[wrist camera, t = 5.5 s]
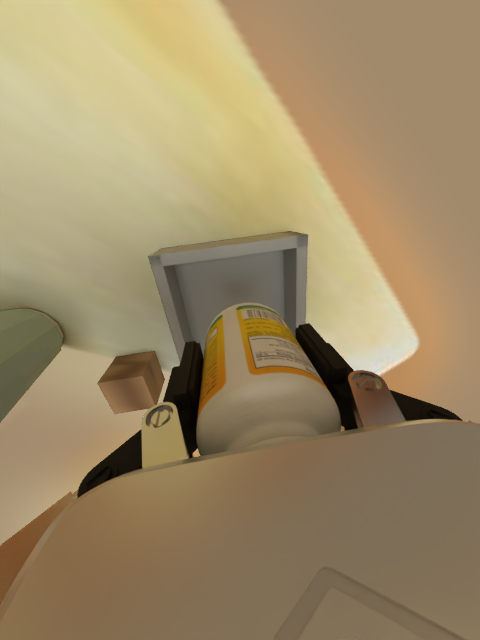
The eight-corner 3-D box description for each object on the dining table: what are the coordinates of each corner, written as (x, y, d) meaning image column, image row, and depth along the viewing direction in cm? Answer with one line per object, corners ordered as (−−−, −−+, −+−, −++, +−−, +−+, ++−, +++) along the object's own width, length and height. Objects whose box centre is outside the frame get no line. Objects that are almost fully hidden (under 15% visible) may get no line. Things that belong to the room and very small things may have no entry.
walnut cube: (129, 384, 30) (114, 414, 25) (116, 356, 28) (97, 383, 23) (164, 379, 30) (155, 407, 26) (154, 350, 28) (142, 375, 23)
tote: (196, 377, 30) (193, 404, 26) (161, 248, 22) (148, 256, 18) (290, 362, 31) (303, 386, 26) (289, 231, 23) (307, 234, 18)
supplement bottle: (269, 285, 12) (392, 442, 4) (296, 352, 15) (408, 541, 6) (188, 323, 13) (134, 535, 4) (227, 381, 15) (241, 593, 7)
